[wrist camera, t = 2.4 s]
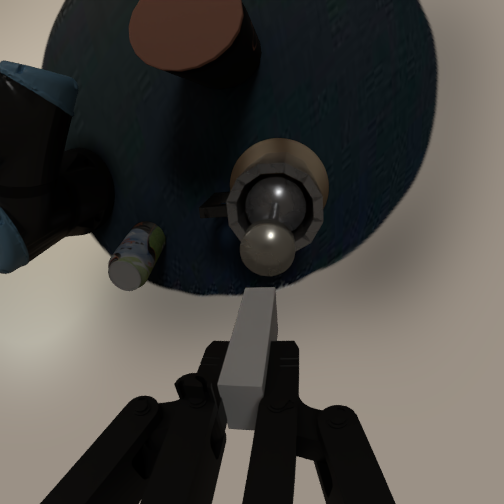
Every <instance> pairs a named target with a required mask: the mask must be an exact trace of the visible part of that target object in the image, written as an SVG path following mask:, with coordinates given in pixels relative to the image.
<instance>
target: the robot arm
mask: <svg viewBox="0 0 504 504" xmlns="http://www.w3.org/2000/svg"><path fill="white" fill-rule="evenodd" d="M77 94H78V85H77V82H76V81H75V80H74V79H73V78H71V77H68V76H65V75H61V74H58V73H54V72H51V71H47V70H43V69H39V68H35V67H31V66H27V65H22V64H18V63H14V62H9V61H1V62H0V273H3V274H7V273H11V272H13V271H14V270H16V269H18V268H19V267H21V266H24V265H26V264H28V263H29V261H31V260H33V259H34V258H35V257H37V256H38V255H39V254H41V253H42V252H44V251H45V250H47V249H48V248H50V247H51V246H52V245H54V244H55V243H57V242H58V241H60V240H61V239H63V238H64V237H68V236H77V235H85V234H88V233H91V232H93V231H94V230H96V229H98V228H99V227H101V226H102V225H103V224H104V223H105V222H106V221H107V219H108V218H109V216H110V214H111V211H112V208H113V204H114V185H113V181H112V177H111V174H110V172H109V170H108V168H107V166H106V165H105V163H104V162H103V160H102V159H101V158H100V157H99V156H98V155H96V154H95V153H94V152H92V151H90V150H87V149H83V148H76V149H71V150H67V151H64V149H65V144H66V140H67V135H68V131H69V127H70V123H71V119H72V117H73V116H74V112H73V110H74V106H75V102H76V98H77ZM277 335H278V324H277V308H276V292H275V287H264V288H245V291H244V295H243V298H242V301H241V305H240V308H239V312H238V315H237V319H236V322H235V326H234V329H233V333H232V336H231V339H230V341H213V342H212V343H211V344H210V345H209V346H208V347H207V348H206V350H205V353H204V355H203V358H202V361H201V365H200V366H199V369H198V371H197V373H189V374H186V375H183V376H182V377H181V378H179V379H178V380H177V381H176V383H175V387H176V390H177V393H178V395H179V398H180V399H179V400H177V401H172V402H166V403H157V401H156V400H155V399H154V398H152V397H150V396H139V397H136V398H134V399H132V400H131V401H130V402H129V403H128V404H127V405H126V406H125V407H124V408H123V410H122V411H121V412H120V413H119V414H118V415H117V416H116V418H115V419H114V420H113V421H112V422H111V424H110V425H109V426H108V427H107V428H106V429H105V430H104V431H103V433H102V434H101V435H100V436H99V437H98V438H97V439H96V441H95V442H94V443H93V444H92V445H91V446H90V448H89V449H88V450H87V451H86V452H85V453H84V454H83V456H82V457H81V458H80V459H79V460H78V461H77V462H76V463H75V465H74V466H73V467H72V468H71V469H70V470H69V472H68V473H67V474H66V475H65V476H64V477H63V478H62V479H61V480H60V482H59V483H58V484H57V485H56V486H55V487H54V489H53V490H52V491H51V492H50V493H49V494H48V495H47V496H46V498H45V499H44V500H43V501H42V502H41V503H40V504H139V502H140V501H141V503H140V504H212V500H213V496H214V492H215V487H216V483H217V479H218V474H219V470H220V466H221V461H222V457H223V453H224V448H225V444H226V433H225V429H226V424H228V427H229V429H242V430H255V432H254V438H253V445H252V451H251V457H250V463H249V469H248V474H247V480H246V485H245V491H244V497H243V502H242V504H293V496H294V483H295V467H296V456H299V457H302V458H305V459H309V460H313V461H314V464H315V467H316V470H317V474H318V477H319V481H320V484H321V488H322V491H323V494H324V497H325V501H326V504H395V501H394V499H393V497H392V494H391V492H390V490H389V487H388V485H387V483H386V480H385V478H384V476H383V473H382V471H381V469H380V466H379V464H378V462H377V460H376V457H375V455H374V453H373V450H372V449H371V446H370V444H369V441H368V439H367V437H366V435H365V432H364V430H363V428H362V426H361V424H360V421H359V419H358V417H357V415H356V414H355V413H354V411H353V410H352V409H350V408H348V407H347V406H342V405H334V406H330V407H328V408H325V409H324V410H318V409H314V408H311V407H309V406H307V405H305V404H304V403H303V402H302V401H301V400H300V398H299V348H298V346H297V345H296V343H295V341H277Z"/></svg>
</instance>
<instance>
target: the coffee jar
mask: <svg viewBox="0 0 504 504" xmlns="http://www.w3.org/2000/svg"><path fill="white" fill-rule="evenodd" d="M129 36H130V42H131V45H132V47H133V49H134V51H135V53H136V55H137V56H138V57H140V58H141V59H142V60H143V61H144V62H145V63H146V64H148V65H150V66H153V67H155V68H158V69H160V70H164V71H166V72H169V73H171V74H174V75H177V76H179V77H182V78H185V79H188V80H190V81H193V82H196V83H198V84H201V85H203V86H206V87H208V88H215V89H226V88H232V87H235V86H237V85H239V84H241V83H243V82H245V81H246V80H247V79H248V78H249V77H250V76H252V75H253V73H254V72H255V70H256V69H257V67H258V65H259V63H260V58H261V46H260V41H259V39H258V36H257V34H256V32H255V29H254V27H253V24H252V22H251V20H250V17H249V15H248V13H247V10H246V8H245V6H244V5H243V3H242V1H241V0H140V1H139V2H138V4H137V6H136V7H135V9H134V11H133V13H132V17H131V20H130V24H129Z"/></svg>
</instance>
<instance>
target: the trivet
mask: <svg viewBox="0 0 504 504" xmlns="http://www.w3.org/2000/svg"><path fill="white" fill-rule="evenodd" d="M279 152H287V153H289V154H291V155H293V156H295V157H297V158H299V159H301V160H303V161H304V162H305V163H306V165H307V166H308V168H309V169H310V171H311V173H312V174H313V176H314V177H315V180H316V182H317V184H318V187H319V189H320V191H321V194H322V196H323V208H324V206H325V204H326V201H327V198H328V192H329V183H328V177H327V173H326V170H325V168H324V166H323V164H322V162H321V161H320V159H319V158H318V157H317V155H316V154H315V153H314V152H313V151H312V150H310V149H309V148H308V147H306V146H305V145H303V144H301V143H299V142H297V141H294V140H290V139H284V138H274V139H268V140H264V141H261V142H259V143H256V144H255V145H253V146H251V147H250V148H249V149H247V150H246V151H245V152H244V153H243V154H242V155H241V156H240V158H239V159H238V160H237V162H236V164H235V166H234V168H233V171H232V174H231V179H230V192H231V190H232V188H233V185H234V183H235V181H236V179H237V178H238V177H239V176H240V175H241V174H242V173H243V172H244V170H245V169H246V168H247V167H248V166H249V165H250V164H252V163H253V162H254V161H256V160H257V159H259V158H260V157H262V156H263V155H265V154H266V153H279Z"/></svg>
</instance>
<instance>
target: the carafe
mask: <svg viewBox="0 0 504 504" xmlns="http://www.w3.org/2000/svg"><path fill="white" fill-rule="evenodd" d="M270 176H281V177H285V178H288V179H290V180H292V181H293V182H294V183H296V184H297V185H298V186H299V187H300V189H301V190H302V192H303V194H304V197H305V201H306V212H305V216H304V219H303V221H302V222H301V224H300V225H299V226H298V227H297V228H296V229H295V230H293V231H292V234H293V236H294V239H295V252H296V251H298V250H299V249H301V248H303V247H304V246H306V245H308V244H310V243H311V242H312V240H313V239H314V237H315V235H316V233H317V232H318V230H319V228H320V226H321V225H322V223H323V196H322V194H321V191H320V189H319V187H318V184H317V182H316V180H315V177H314V176H313V174H312V173H311V171H310V169H309V168H308V166H307V165H306V163H305V162H304V161H303V160H301V159H299V158H297V157H295V156H293V155H291V154H289V153H287V152H279V153H266V154H265V155H263V156H262V157H260V158H259V159H257V160H256V161H254V162H253V163H252V164H250V165H249V166H248V167H247V168H246V169H245V170H244V172H243V173H242V174H241V175H240V176H239V177H238V178H237V179H236V181H235V183H234V185H233V188H232V190H231V192H219V193H214V194H213V195H212V196H211V197H210V198H209V199H208V200H207V201H206V202H205V203H204V204H203V205H202V206H200V207H199V212H200V218H212V217H228V221H229V226H230V228H231V229H232V230H233V232H234V233H235V234H236V236H237V237H238V238H239V240H240V241H242V239H243V237H244V234H245V232H246V230H247V229H248V228H249V227H250V226H251V225H252V223H251V222H250V220H249V219H248V216H247V213H246V206H245V205H246V198H247V196H248V193H249V191H250V190H251V188H252V187H253V186H254V185H255V184H256V183H257V182H258V181H260V180H261V179H264V178H266V177H270ZM221 203H226V204H221Z"/></svg>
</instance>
